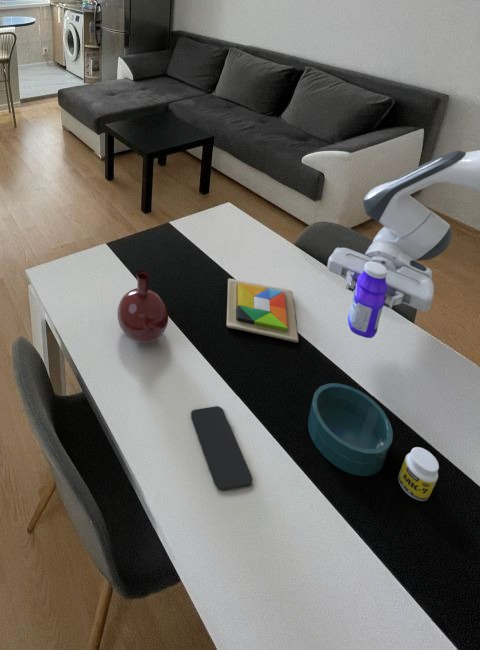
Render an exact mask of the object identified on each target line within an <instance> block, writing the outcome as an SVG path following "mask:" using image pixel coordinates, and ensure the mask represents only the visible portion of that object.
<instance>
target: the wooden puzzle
mask: <svg viewBox="0 0 480 650" xmlns="http://www.w3.org/2000/svg"><path fill="white" fill-rule="evenodd" d="M226 299H227V300H226V301H227V303H226V327H227V328H228V329H233V330H238V331H243V332H247V333H251V334H257V335H261V336H265V337H270V338H274V339H279V340H283V341H288V342H292V343H299V334H298V327H297V320H296V319H297V318H296V311H295V304H294V303H295V302H294V296H293V291H292V290H291V289H289V288H283V287H277V286H272V285H266V284H260V283H256V282H250V281H244V280H241V279H235V278H228V279H227V298H226Z"/></svg>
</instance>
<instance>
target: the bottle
mask: <svg viewBox="0 0 480 650" xmlns="http://www.w3.org/2000/svg"><path fill="white" fill-rule="evenodd" d="M386 275H387V269H386V268H385V267H384V266H383V265H382V264H380V263H377V262H367V263H366V264H365V267H364V270H363V273H362V274H360V275H359V276H358V277H357V283H356V286H355V290H354V291H353V295H352V296H353V297H352V301H351V304H350V309H349V311H348V316H347V323H348V324H347V325H348V327H349V329H350V331H351V332H352V333H353V334H355V335H357V336H359V337H363V338H366V339H372V338H374V337H375V335H376V334H377V332H378V328H379V323H380V319H381V315H382V312H383V308H384V301H385V299H386V296H385V292H386V291H387V289H388V286H387V284H386Z"/></svg>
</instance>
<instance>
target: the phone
mask: <svg viewBox="0 0 480 650" xmlns="http://www.w3.org/2000/svg"><path fill="white" fill-rule="evenodd" d="M226 415H227V414H226V413H225V411H224V409H223V408H222V407H221V406H218V405H215V406H209V407H203V408H197V409H193V410H191V412H190V418H191V421H193V422H192V424H193V427H194V430H195V433H196V435H198V436H197V438H198V442H199V443H200V447H201V446H202V447H201V449H203V450H202V452H203V455H204V458H205V460H206V463H207V466H208V469H209V472H210V474H211V477H212V480H213V483H214V486H215V487H216V488H217V490H218V491H221V492H224V491H229V490H236V489H242V488H247V487H250V486H252V484H253V476H252V473H251V471H250V469H249V466H248V464H247V461H246V459H245V457H244V455H243V453H242V449H241V448H240V445H239V443H238V441H237V438H236V436H235V434H234V432H233V429H232V427H231V425H230V422H229V420H228V418H227V416H226Z"/></svg>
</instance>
